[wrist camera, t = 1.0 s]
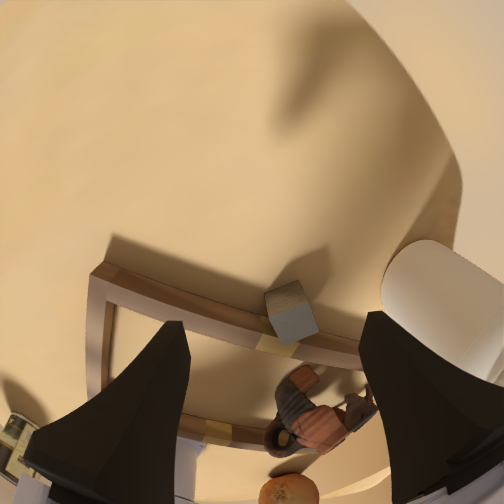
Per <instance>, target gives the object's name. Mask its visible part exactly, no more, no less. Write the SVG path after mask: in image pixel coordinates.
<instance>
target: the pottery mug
mask: <svg viewBox="0 0 504 504" xmlns="http://www.w3.org/2000/svg"><path fill="white" fill-rule="evenodd" d="M317 382H319V376H318V375H317V374H316V373H314V372H313V371H312V369H311V368H310V367H309V366H308V365H305V366H303V367H301V368H299V369H298V370H297V371H296V372H294V373H293V374H292V375H291V376H290V377H289V378H288V379H286V380H285V381H284V382H283V383H282V384H281V385H280V386H279V388H278V389H277V390H276V392H275V400H276V404H277V409H278V412H277V414H276V417H275V419H274V420H273V421H272V422H271V423H270V425H269V426H268V428H267V429H266V432H265V434H264V439H263V440H264V441H263V443H264V449H265V450H266V451H268V452H269V454H270V455H271V456H273V457H277V458H284V457H287V456H290V455H292V454H294V453H296V452H297V451H298V450H300V449H303V448H308V447H309V448H316V449H317V450H318V451H319V453H320V455H325V454H326V453H328V452H329V451H331V450H332V449H334V448H335V447H336V446H338V445H339V444H340V443H342V442H343V441H344V440H345V438H346V436H348V435H349V434H350V433H352V432H356V431H357V430H358V429H360V428H361V427H362V426H363V425H364V424H365V423H366V422H367V421H369V420H370V419H371V418H372V417H373V415H375V414H376V412H377V411H378V410H379V409H378V406H376V405H375V404H374V403H373V394H372V391H371V388H370V386H369V385H368V384H366V385H365V389H366V396H365V397H364V398H363V397H361V396H358V395H357V394H356V393H352V394H348V395H346V396H345V401H346V403H347V406H346V411H343V410H342V409H339V408H337V407H334V408H331V407H329V406H327V405H320V406H316V405H315V404H314V403H312V402H311V401H310V400H309V399H308V398H307V397H306V395H305V393H306V392H307V391H308V390H309V389H310V388H311V387H312V386H313V385H314V384H316V383H317ZM282 430H286V431H288V433H289V439H288V442H287V444H286V445H285V446H280V445H279V443H278V437H279V434H280V432H281V431H282Z"/></svg>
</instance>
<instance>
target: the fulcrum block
mask: <svg viewBox="0 0 504 504" xmlns="http://www.w3.org/2000/svg"><path fill="white" fill-rule="evenodd" d="M264 296H265V301H266V307H267V312H268V317H269V320H270V322H271V324H272V326H273V328H274V330H275V332H276V334H277V336H278V338H279V340H280V342H281V344H282V346H285V345H288V344H290V343H293V342H296V341H298V340H301V339H303V338H306V337H308V336H311V335H313V334H315V333H318V332H320V331H319V328H318V326H317V323H316V320H315V318H314V315H313V313H312V310H311V307H310V305H309V302H308V300H307V298H306V295H305V293H304V291H303V289H302V286H301V284H300V282H299V280H297V281H295V282H292V283H290V284H287V285H285V286H282V287H280V288H278V289H275V290H273V291H270V292H268V293H265V294H264Z"/></svg>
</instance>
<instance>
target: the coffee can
mask: <svg viewBox="0 0 504 504" xmlns="http://www.w3.org/2000/svg"><path fill="white" fill-rule="evenodd" d="M39 428H40V427H39V426H38V425H36V424H35V423H34V422H32V421H31V420H29V419H28V418H26V417H24V416H23V415H21V414H19V413H16V412H12V413H11V416H10V418H9V419H8V421H7V423H6V425H5V427H4V429H3V431H2V433H1V435H0V475H1V476H2V477H4V478H5V479H6V480H8V481H9V482H11V483H12V484H13V485H15V486H17V485H18V482H19V479H20V476H21V473H22V472H24V473H26V474H27V475H29V476H31V477H33V478H34V479H36V480H38V481H39V479H40V476H41V475H40V474H39V473H38V472H36V471H35V470H33V469H32V468H31V467H29V466H28V465H27V464H26V463H24V461H23V459H22V458H23V455H24V452H25V450H26V447H27V445H28V442H29V440H30V438H31V435H32V433H33V431H35V430H37V429H39Z"/></svg>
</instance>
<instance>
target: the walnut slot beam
mask: <svg viewBox="0 0 504 504" xmlns="http://www.w3.org/2000/svg"><path fill="white" fill-rule="evenodd" d="M115 304H116V305H119V306H121V307H124V308H127V309H129V310H132V311H134V312H137V313H140V314H142V315H145V316H148V317H151V318H153V319H156V320H159V321H162V322H166V321H167V320H171V321H183V326H184V329H186V330H189V331H192V332H195V333H198V334H202V335H205V336H208V337H211V338H215V339H218V340H222V341H225V342H229V343H232V344H236V345H240V346H243V347H247V348H251V349H255V350H259V351H263V352H267V353H271V354H275V355H280V356H284V357H289V358H293V359H298V360H302V361H307V362H312V363H317V364H323V365H328V366H334V367H339V368H345V369H351V370H358V371H364V370H363V367H362V363H361V360H360V355H359V351H358V346H359V343H360V341H356V340H352V339H348V338H343V337H339V336H335V335H331V334H327V333H323V332H318V333H315V334H313V335H311V336H308V337H306V338H303V339H301V340H298V341H296V342H293V343H290V344H288V345H285V346H282V344H281V342H280V340H279V338H278V336H277V334H276V332H275V330H274V328H273V326H272V324H271V322H270V320H269V318H268V317H264V316H261V315H257V314H254V313H251V312H247V311H244V310H241V309H237V308H234V307H231V306H228V305H225V304H222V303H218V302H215V301H212V300H209V299H206V298H203V297H200V296H197V295H194V294H191V293H188V292H185V291H182V290H179V289H176V288H174V287H171V286H168V285H165V284H162V283H159V282H157V281H154V280H151V279H148V278H146V277H143V276H140V275H138V274H135V273H132V272H130V271H127V270H125V269H122V268H119V267H117V266H114V265H112V264H109V263H107V262H104V261H103V262H102V263H101V264H100V265H99V266H98V267H96V268H95V269H94V270H93V271H92V272H91V273H90V276H89V286H88V298H87V314H86V381H87V396H88V401H89V400H90V399H92V398H93V397H94V396H96V395H97V394H98V393H100V392H101V391H102V390H103V389H104V388H106V387H107V386H108V367H109V352H110V341H111V331H112V322H113V314H114V306H115ZM265 432H266V430H264V429H257V428H250V427H244V426H238V425H232V424H227V423H222V422H217V421H212V420H208V419H203V418H199V417H195V416H191V415H187V414H183V413H181V417H180V422H179V426H178V433H177V436H178V437H182V438H186V439H191V440H195V441H200V442H204V443H209V444H215V445H220V446H226V447H232V448H239V449H247V450H255V451H265V452H268V451H266V450H265V449H264V443H263V441H264V440H263V439H264V434H265ZM288 439H289V433H288V432H280V434H279V437H278V443H279V445H280V446H285V445H286V444H287V442H288ZM317 451H318V450H317V449H316V448H309V447H308V448H303V449H300V450H298V451H297V452H296V453H294V454H315V453H316V452H317Z"/></svg>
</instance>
